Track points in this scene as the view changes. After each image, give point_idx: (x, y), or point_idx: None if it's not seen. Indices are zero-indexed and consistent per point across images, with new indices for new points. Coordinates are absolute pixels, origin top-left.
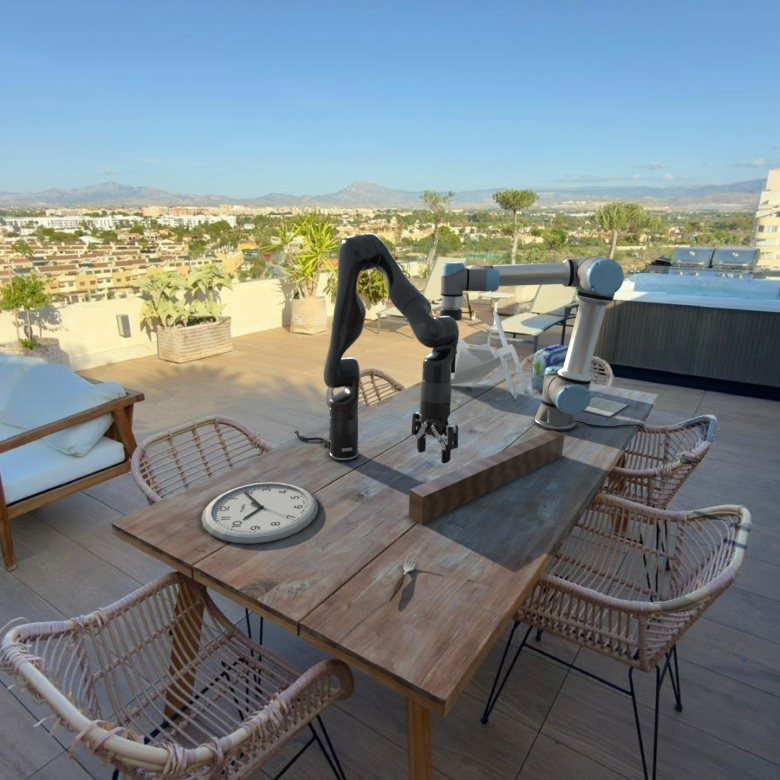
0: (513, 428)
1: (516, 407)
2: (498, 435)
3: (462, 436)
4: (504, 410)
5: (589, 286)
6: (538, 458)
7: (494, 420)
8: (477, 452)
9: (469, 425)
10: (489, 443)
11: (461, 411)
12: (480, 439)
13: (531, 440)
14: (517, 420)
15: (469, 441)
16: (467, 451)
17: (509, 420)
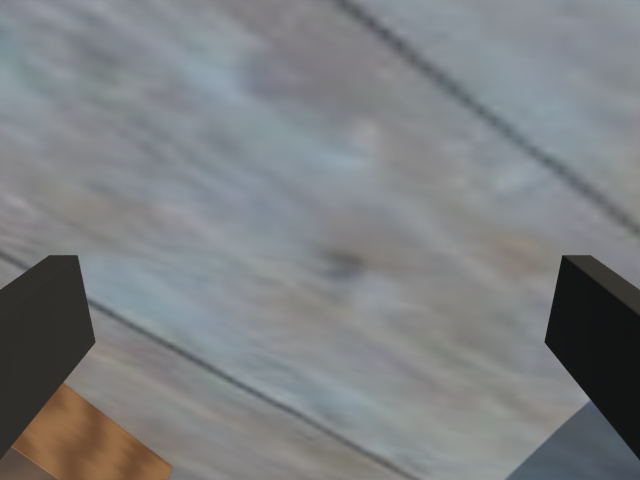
0: (377, 413)
1: (605, 466)
2: (305, 352)
3: (286, 216)
4: (579, 421)
5: None
6: None
7: (468, 367)
8: (124, 250)
9: (416, 263)
10: (220, 307)
11: (602, 255)
12: (258, 282)
13: (17, 461)
14: (460, 441)
15: (233, 237)
16: (126, 214)
17: (463, 416)
